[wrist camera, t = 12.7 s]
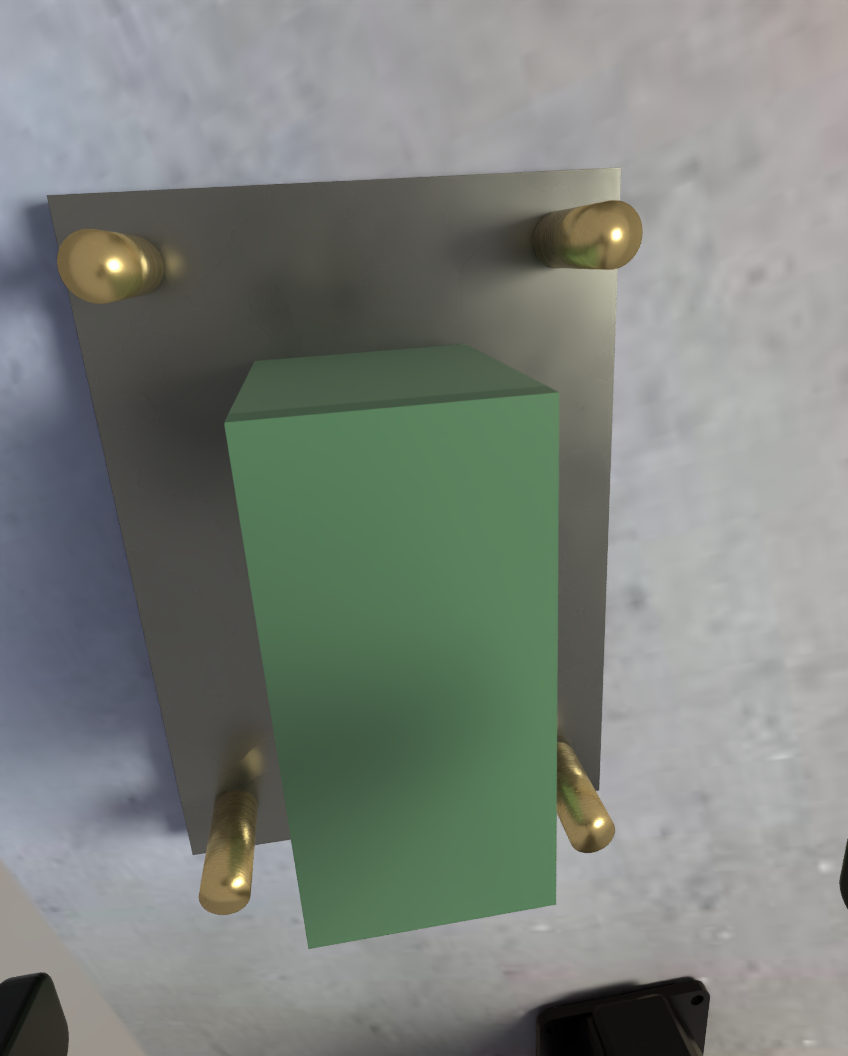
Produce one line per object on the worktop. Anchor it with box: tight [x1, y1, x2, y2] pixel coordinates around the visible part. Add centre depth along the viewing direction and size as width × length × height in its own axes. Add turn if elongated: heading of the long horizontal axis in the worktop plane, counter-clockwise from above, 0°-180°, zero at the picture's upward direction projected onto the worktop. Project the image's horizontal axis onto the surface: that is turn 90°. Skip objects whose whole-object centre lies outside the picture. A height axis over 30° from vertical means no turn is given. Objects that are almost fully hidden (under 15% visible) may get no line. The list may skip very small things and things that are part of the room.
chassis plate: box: [47, 168, 642, 915], centre depth 17 cm, size 17×12×4 cm
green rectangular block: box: [224, 344, 559, 949], centre depth 15 cm, size 5×10×7 cm, turn 3°
